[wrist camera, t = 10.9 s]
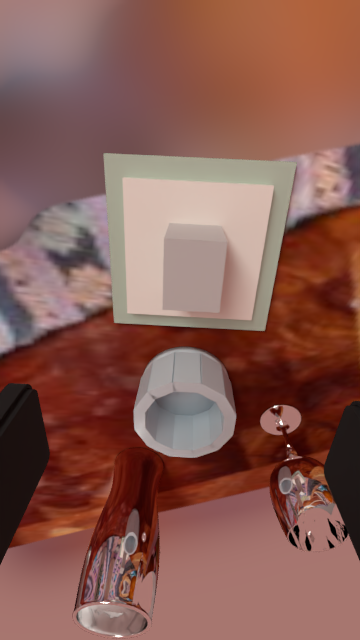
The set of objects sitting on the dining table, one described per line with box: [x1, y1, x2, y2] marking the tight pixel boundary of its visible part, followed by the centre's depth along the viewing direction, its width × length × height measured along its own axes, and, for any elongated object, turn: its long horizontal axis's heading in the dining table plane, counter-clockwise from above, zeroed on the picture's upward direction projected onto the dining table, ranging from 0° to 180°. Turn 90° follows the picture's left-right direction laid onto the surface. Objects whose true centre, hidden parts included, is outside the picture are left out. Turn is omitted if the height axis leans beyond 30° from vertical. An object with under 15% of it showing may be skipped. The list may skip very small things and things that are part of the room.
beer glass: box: [72, 448, 164, 638], centre depth 33 cm, size 7×7×15 cm
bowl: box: [134, 347, 236, 458], centre depth 31 cm, size 9×9×6 cm
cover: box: [122, 177, 274, 320], centre depth 24 cm, size 11×11×6 cm
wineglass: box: [260, 405, 349, 552], centre depth 30 cm, size 6×6×12 cm
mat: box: [104, 153, 297, 331], centre depth 27 cm, size 14×14×1 cm
